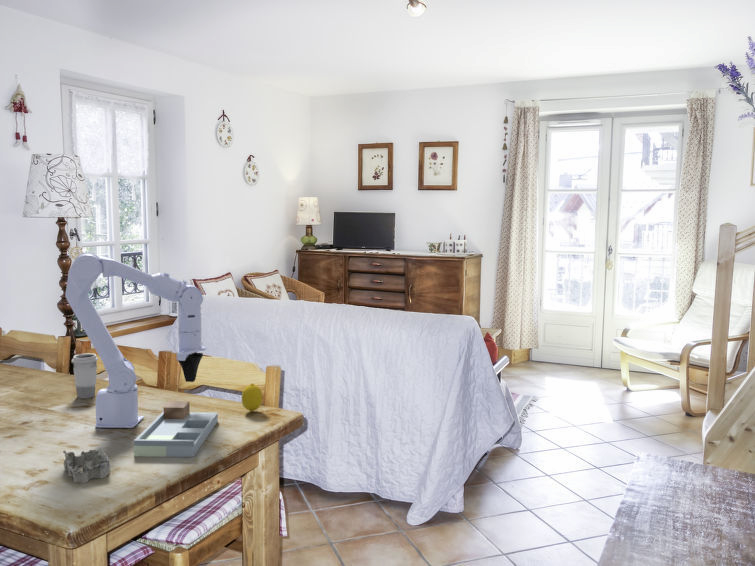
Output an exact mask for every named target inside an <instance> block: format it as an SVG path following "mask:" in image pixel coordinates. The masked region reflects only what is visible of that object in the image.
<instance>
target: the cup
mask: <svg viewBox="0 0 755 566" xmlns="http://www.w3.org/2000/svg"><path fill="white" fill-rule="evenodd" d="M98 361H99V357H98V356H97V354H96V353H87V352H86V353H78V354H75V355H73V357H72V359H71V363H72V365H73V367H72V368H73V377H74V384H75V389H76V390H75V391H76V397H77V399H85V400H86V399H90V398H95V396H96V384H97V370H98V364H97V362H98Z"/></svg>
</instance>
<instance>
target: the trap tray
mask: <svg viewBox="0 0 755 566" xmlns="http://www.w3.org/2000/svg"><path fill="white" fill-rule="evenodd" d="M218 416H219V415H218V412H201V411H200V412H199V411H198V412H197V411H194V412H192V411H190V413H189V414H188V415H187V416H186V418H185V419H164V410H163V411H161V413H159V415H158V416H157V417H156V418H154V420H153V421H151V422H150V424H149V425H148V426H147V427H146V428H144V429H143V431H141V433H140V434H139V435H138V436H137V437H136V438H134V440H133V456H134V457H160V458H161V457H166V458H167V457H169V458H170V457H171V458H172V457H173V458H174V457H176V458H190V457H191V458H194V457H195V455H196V454H197V452H198V451H199V450H200V449H201V447H202V445H203V444H204V442H205V441H206V439H207V438H208V436H209V435H210V433H211V432H212V431H213V429H214V428H215V427H216V424H218V422H219V420H218V418H219V417H218Z"/></svg>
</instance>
